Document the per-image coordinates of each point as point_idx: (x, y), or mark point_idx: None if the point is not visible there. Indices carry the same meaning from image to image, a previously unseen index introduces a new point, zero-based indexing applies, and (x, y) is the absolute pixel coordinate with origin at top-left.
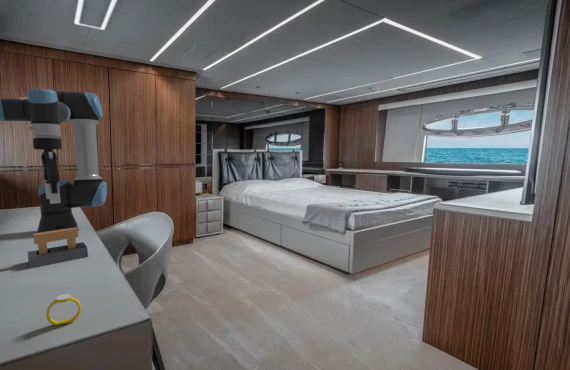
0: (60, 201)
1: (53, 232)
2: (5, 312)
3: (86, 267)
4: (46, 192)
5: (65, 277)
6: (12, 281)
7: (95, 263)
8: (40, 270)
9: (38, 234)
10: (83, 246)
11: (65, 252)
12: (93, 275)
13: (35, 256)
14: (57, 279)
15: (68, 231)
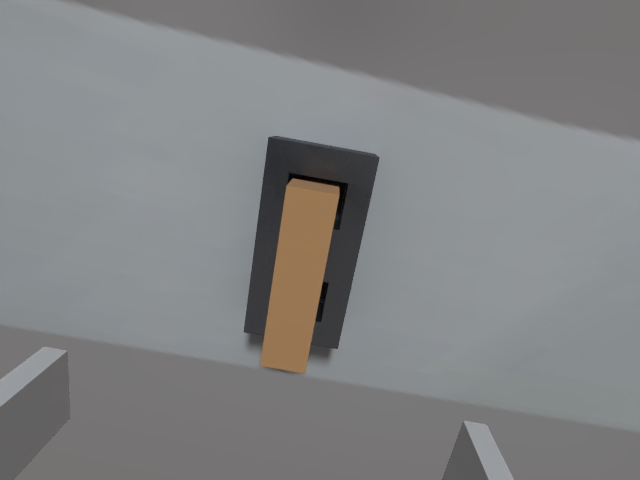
0: (491, 436)
1: (318, 303)
2: (636, 429)
3: (504, 206)
4: (13, 475)
5: (537, 283)
6: (422, 380)
7: (490, 166)
8: (388, 311)
9: (302, 356)
10: (352, 165)
11: (360, 239)
12: (612, 220)
13: (337, 329)
14: (530, 303)
15: (330, 238)
